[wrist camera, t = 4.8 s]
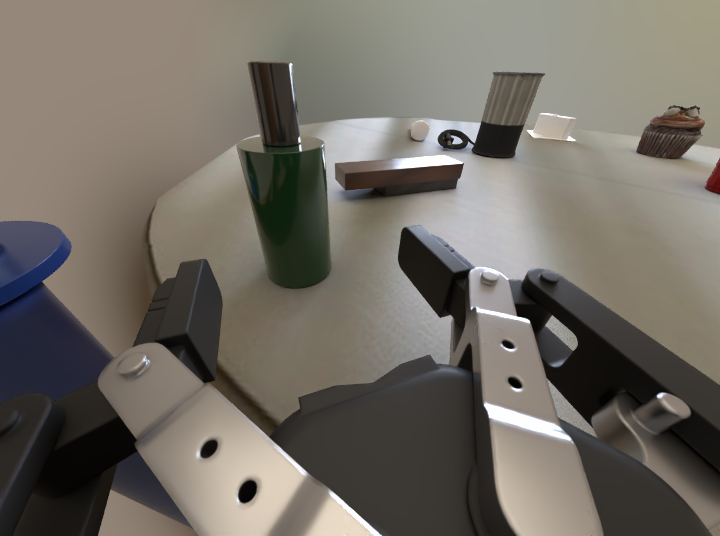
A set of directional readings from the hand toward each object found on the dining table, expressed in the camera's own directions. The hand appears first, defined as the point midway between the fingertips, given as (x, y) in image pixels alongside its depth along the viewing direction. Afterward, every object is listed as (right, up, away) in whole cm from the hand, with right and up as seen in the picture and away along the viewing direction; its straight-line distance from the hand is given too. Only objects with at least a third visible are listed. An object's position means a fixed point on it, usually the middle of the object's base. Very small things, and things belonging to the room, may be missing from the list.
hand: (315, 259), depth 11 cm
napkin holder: (+61, +41, +69) cm, 101 cm away
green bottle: (-3, 0, +11) cm, 12 cm away
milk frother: (+29, +27, +49) cm, 63 cm away
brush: (+8, +11, +28) cm, 31 cm away
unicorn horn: (+18, +40, +65) cm, 79 cm away
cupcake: (+74, +27, +51) cm, 94 cm away
